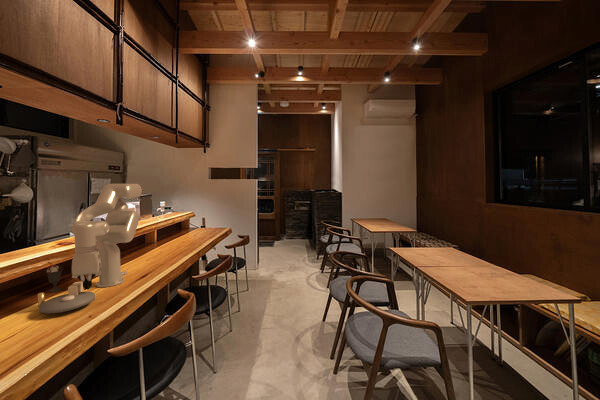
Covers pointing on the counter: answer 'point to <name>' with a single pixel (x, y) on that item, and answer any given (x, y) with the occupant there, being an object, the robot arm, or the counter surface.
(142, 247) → the counter surface
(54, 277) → the sundae
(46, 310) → the disc
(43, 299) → the brown rounded oblong piece
